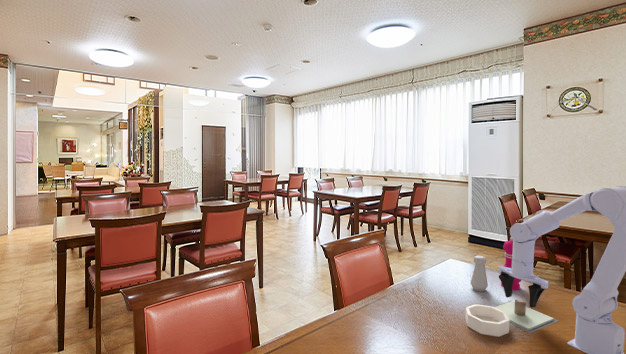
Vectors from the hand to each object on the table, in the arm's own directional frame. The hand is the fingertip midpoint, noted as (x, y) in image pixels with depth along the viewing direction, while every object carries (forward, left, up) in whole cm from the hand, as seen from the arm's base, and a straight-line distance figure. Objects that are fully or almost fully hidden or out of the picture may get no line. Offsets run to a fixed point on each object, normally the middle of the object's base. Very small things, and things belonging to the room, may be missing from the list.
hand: (520, 301), depth 104 cm
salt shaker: (+19, -6, -5) cm, 20 cm away
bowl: (+1, +15, -5) cm, 16 cm away
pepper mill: (+15, -19, -5) cm, 25 cm away
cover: (0, 0, -5) cm, 5 cm away
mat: (0, 0, -5) cm, 5 cm away
